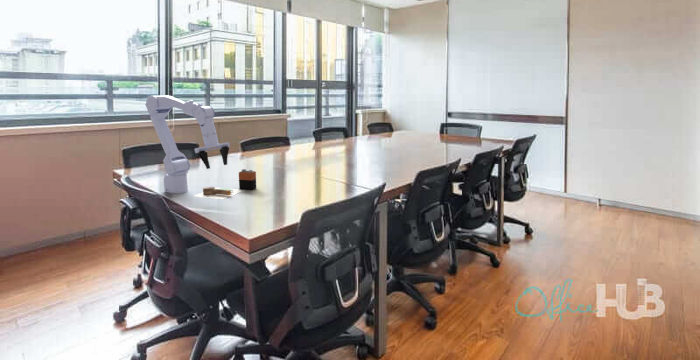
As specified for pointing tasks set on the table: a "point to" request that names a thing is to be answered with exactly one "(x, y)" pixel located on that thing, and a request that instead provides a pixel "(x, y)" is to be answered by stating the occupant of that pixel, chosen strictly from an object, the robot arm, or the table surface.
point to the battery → (247, 180)
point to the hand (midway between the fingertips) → (217, 166)
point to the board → (219, 196)
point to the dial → (215, 191)
